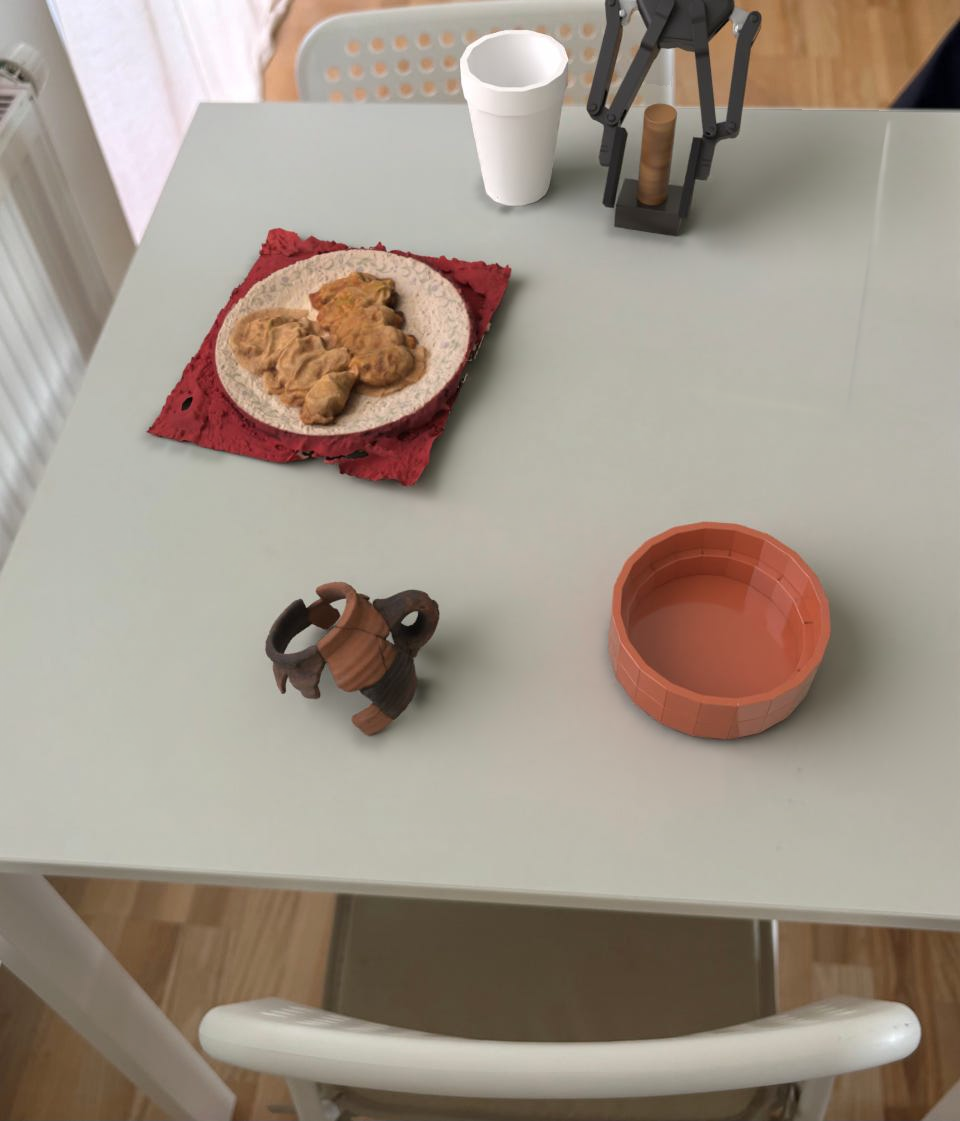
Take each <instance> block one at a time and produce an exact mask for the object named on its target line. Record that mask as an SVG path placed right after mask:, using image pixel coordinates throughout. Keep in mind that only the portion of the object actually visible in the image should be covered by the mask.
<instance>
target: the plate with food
mask: <svg viewBox="0 0 960 1121" xmlns="http://www.w3.org/2000/svg"><path fill="white" fill-rule="evenodd" d="M260 245H261V249H259V250H258V251H259V252H258V254H259V257H258V258H257V260H256V261H255V263H254V264H253V265H252V267H251V269H250V270H249V272H248V274H247V276H246V277H245V278H244V281H243V282H242V283H241V284H238V285H237V287H234V288H233V289H232V291H231V293H230V294H231V295H230V296H229V300H228V301H227V303H226V305H225V306H224V308H221V309H220V311H219V312H218V314H217V315H216V319H215V320H214V323H213V324H212V326H211V328H210V330H209V331H208V332H207V334H206V335H205V337H204V338H203V341H202V342H201V344H200V347H199V349H198V350H197V352H196V354H195V355H194V356H191V358H190V362H189V363H187V364H186V366H184V369H183V371H182V374H181V378H180V380H179V381H178V382H177V383H176V385H175V386H174V388H173V389H172V390H171V391H170V394H168V395H167V396H166V399H165V404H163V406H162V408H161V410H160V413H159V415H158V416H157V417H156V418H155V420H154V422H153V423H152V425H151V426H149V427H148V429H147V431H145V432H146V433H147V434H151V435H155V436H156V437H157V438H160V437H164V438H166V439H173V440H175V441H177V442H181V443H182V441H188V442H191V443H194V444H195V445H196V446H197V447H202V448H203V447H205V448H208V449H211V450H213V451H217V450H218V451H224V452H228V453H230V454H238V455H243V456H246V457H251V458H256V459H258V460H263V461H264V460H266V461H267V462H272V463H278V464H280V463H281V464H282V463H290V462H294V461H302V460H307V459H308V458H309V455H307V454H310V453H311V452H312V451H313V454H311V457H312V458H321V457H323V462H324V464H328V465H332V466H333V465H335V464H336V463H338V472H339V474H340V475H348V476H349V477H355V478H357V479H366V480H370V481H371V482H375V481H379V480H381V479H385V480H386V481H391V480H392V479H393V480H396V481H397V482H398V483H400V484H401V485H402V486H403V487H404V488H405V487H413V486H414V485H415V484H416V482H417V481H418V480H419V478H420V477H421V476H422V474H423V472H424V469H425V468H426V467H428V466H429V463H430V453H431V449H432V446H433V443H434V441H435V439H436V438H442V435H443V432H444V431H445V428H444V427H446V422H447V420H448V418H449V416H450V412H452V410H453V406H454V405H455V404H456V401H457V398H458V396H459V394H460V391H461V388H462V386H463V384H464V383H466V379H467V377H468V376H469V374H468V373H467V371H466V372H464V370H465V366H466V363H467V362H472V359H473V360H476V359H477V355H478V354H479V351H480V348H481V347H482V344H483V342H484V340H485V338H486V337H485V335H486V334H485V333H487V332H490V331H491V330H490V329H491V327H492V323H491V322H490V321H491V319H492V316H493V314H494V313H495V312H496V311H497V309H498V307H499V305H500V302H501V301H502V298H503V296H504V294H505V291H506V289H507V286H508V284H509V282H510V281H509V280H510V278H511V275H512V268H511V267H510V265H509V264H506V265H505V267H504V266H502V265H500V264H499V263H497V262H495V263H491V264H487V263H486V262H485V261H483V260H477V261H466V260H460V259H458V258H456V257H452V258H451V259H447V257H446V255H444V254H443V255H440V256H439V257H435V256H430V255H428V256H426V255H419V254H414V253H411V251H407V252H406V251H405V252H404V251H402V250H401V249H392V250H390V251H387V247H386V246H385V245H383V244H382V242H381V241H378V243H377V244H376V245H374V246H369V247H368V248H365V247H364V246H360V248H359V247H358V248H357V247H349V246H348V245H346V243H343V242H336V241H335V240H334V239H333V240H331V241H329V240H326V241H325V240H321V239H319V238H317V237H315V236H314V235H310V236H308V238H306V239H305V240H304V241H303V240H302V239H301V237H300V236H299V235H298V233H297V232H295V231H290V230H286V229H283V228H282V227H277V228H276V227H275V228H272V229H269V230H268V231H267V236H266V239H265V242H264V243H263V242H262V243H261V244H260ZM471 352H474V353H473V356H472V354H471ZM471 357H473V358H471ZM463 372H464V375H463V377H462V374H463ZM461 377H462V378H461ZM188 398H192V401H191V403H190V406H189V407H188V408H187V409H184V410H182V408H183V407H182V406H183V404H184V402H185V401H186V400H187V399H188ZM355 451H356V452H358V453H361V452H363V451H364V452H365V453H367V454H368V455H367V456H364V457H357V458H354V459H353V458H347V456H348V455H352V454H353V453H355ZM304 453H305V454H304Z"/></svg>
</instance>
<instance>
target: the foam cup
mask: <svg viewBox="0 0 960 1121" xmlns="http://www.w3.org/2000/svg"><path fill="white" fill-rule="evenodd" d="M459 66H460V67H459V69H460V82H461V89H462V93H463V97H464V99H465V100H466V102H467V107H468V111H469V117H470V121H471V127H472V131H473V136H474V142H475V146H476V151H477V156H478V162H479V165H480V166H479V167H480V171H481V176H482V180H483V185H484V190H485V193H486V195H487V196H488V197H490V199H491V200H493V201H494V202H496V203H498V204H502V205H504V206H507V207H508V206H509V207H510V206H511V207H514V206H516V207H523V206H526V205H527V206H528V205H529V204H534V203H536V202H538V201H539V200H540V199H542V198H543V197H544V196H546V195H547V193H548V191H549V190H548V189H549V188H550V184H551V180H552V175H553V169H554V162H555V155H556V148H557V142H558V136H559V130H560V129H559V128H560V123H561V116H562V110H563V104H564V97H565V92H566V90H567V88H568V85H569V58H568V55H567V52H566V49H565V46H564V45H563V44H561V42H559V41H558V40H556V39H554V37H552V36H550V35H548V34H545V33H541V32H538V31H534V30H530V29H504V30H500V31H497V32H493V33H490V34H489V33H488V34H486V35H482V36H481V37H480V38H478V39H477V40H475V41H473V42H472V43H470V44H468V45H467V46H466V48H465V50H464V51H463V53H462V55H461V57H460V59H459ZM497 197H498V198H497Z"/></svg>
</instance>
